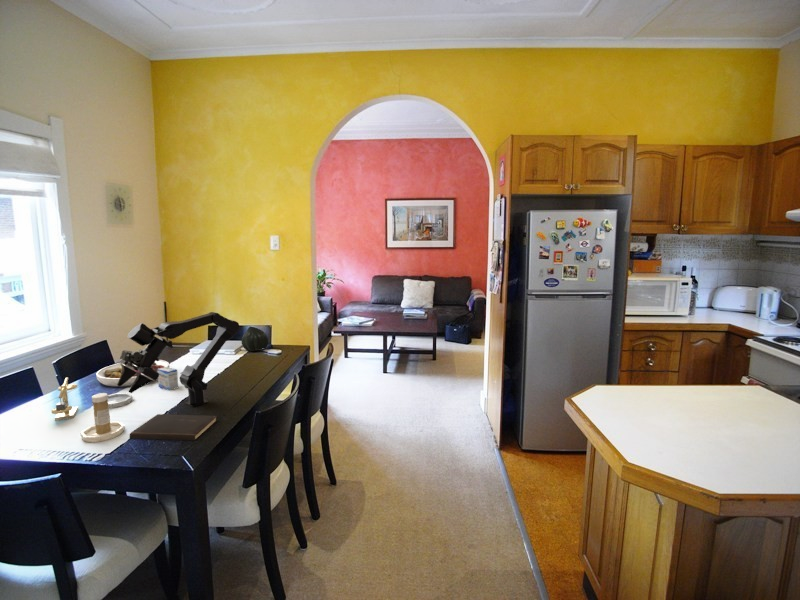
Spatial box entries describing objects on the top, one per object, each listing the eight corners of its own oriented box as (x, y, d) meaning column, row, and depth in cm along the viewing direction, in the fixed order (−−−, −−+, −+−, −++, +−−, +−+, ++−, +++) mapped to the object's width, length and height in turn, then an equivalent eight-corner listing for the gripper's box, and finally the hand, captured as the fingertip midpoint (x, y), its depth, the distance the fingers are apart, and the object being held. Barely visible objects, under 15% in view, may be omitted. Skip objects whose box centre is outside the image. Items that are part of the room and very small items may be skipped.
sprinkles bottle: (96, 430, 152) (92, 394, 150) (111, 427, 154) (107, 391, 152) (95, 435, 148) (91, 398, 146) (111, 432, 150) (107, 395, 148)
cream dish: (128, 433, 152) (128, 428, 151) (88, 445, 143) (87, 440, 142) (117, 423, 159) (116, 418, 159) (77, 434, 150) (77, 429, 150)
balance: (62, 407, 173) (59, 376, 171) (81, 405, 176) (77, 373, 174) (51, 426, 157) (46, 391, 155) (71, 422, 160) (67, 388, 158)
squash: (271, 343, 253) (265, 321, 260) (244, 347, 246) (239, 325, 253) (268, 354, 264) (263, 333, 271) (242, 358, 257) (238, 337, 263)
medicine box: (158, 387, 196) (156, 369, 195) (167, 384, 200) (166, 366, 199) (169, 390, 193) (168, 371, 191) (178, 387, 197) (177, 369, 195)
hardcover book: (158, 419, 164) (157, 414, 163) (217, 421, 163) (216, 415, 162) (129, 439, 148) (129, 433, 148) (195, 442, 147) (194, 435, 146)
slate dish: (136, 402, 179) (135, 398, 179) (102, 411, 170) (101, 406, 170) (125, 395, 187) (125, 391, 187) (93, 403, 178) (92, 399, 178)
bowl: (81, 384, 200) (79, 368, 199) (139, 366, 228) (138, 351, 227) (129, 392, 191) (128, 375, 189) (183, 372, 219) (182, 357, 217)
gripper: (122, 336, 162) (93, 373, 156) (146, 346, 152) (115, 386, 146) (147, 350, 170) (120, 386, 164) (171, 361, 160) (143, 399, 153)
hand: (124, 389), depth 157 cm, fingers open, 9 cm apart
